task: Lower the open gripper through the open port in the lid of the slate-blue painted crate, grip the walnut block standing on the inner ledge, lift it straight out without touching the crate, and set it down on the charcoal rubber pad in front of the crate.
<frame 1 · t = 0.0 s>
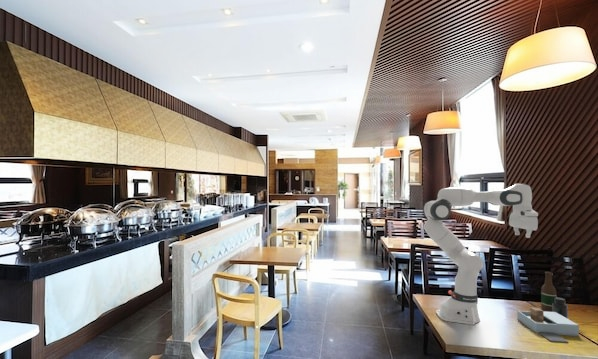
hand: (522, 236, 169), 48 cm above the table, fingers open, 8 cm apart
supplement bottle: (560, 319, 171), on the table
pad: (553, 338, 149), on the table
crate: (546, 327, 161), on the table
beer bottle: (548, 311, 183), on the table
walnut block: (536, 320, 162), point 3 cm above the table, touching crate
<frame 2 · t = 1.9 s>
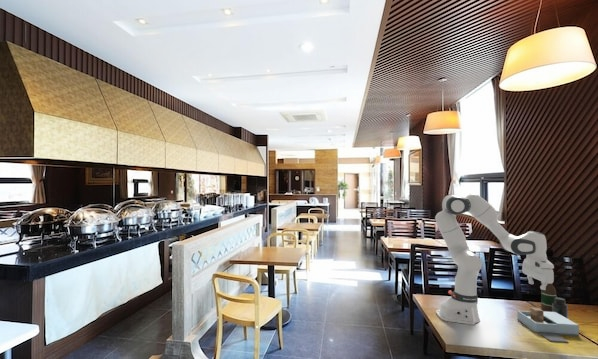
hand: (536, 286, 162), 22 cm above the table, fingers open, 8 cm apart
nothing on the table moved.
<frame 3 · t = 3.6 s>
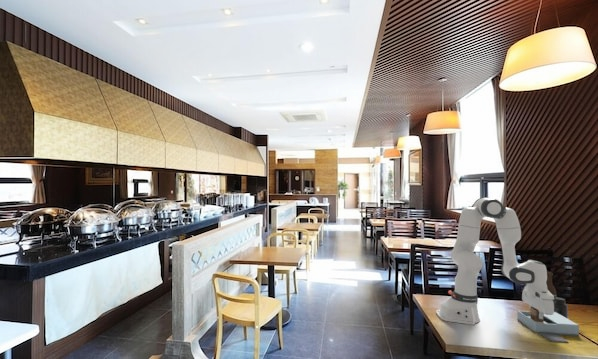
hand: (536, 316, 162), 6 cm above the table, fingers closed on walnut block, 4 cm apart
walnut block: (536, 320, 162), point 3 cm above the table, touching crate, gripper
everything else where it was.
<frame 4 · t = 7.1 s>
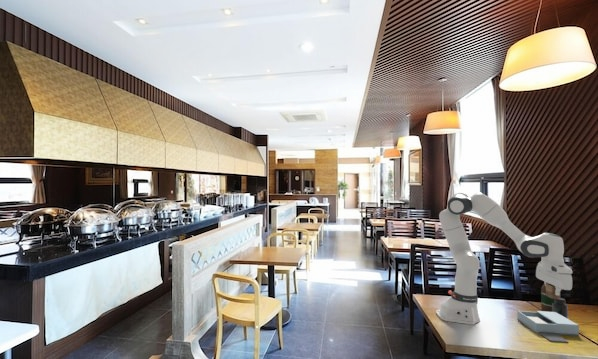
hand: (552, 293, 150), 22 cm above the table, fingers closed on walnut block, 4 cm apart
walnut block: (553, 297, 150), point 20 cm above the table, touching gripper
everything else where it was.
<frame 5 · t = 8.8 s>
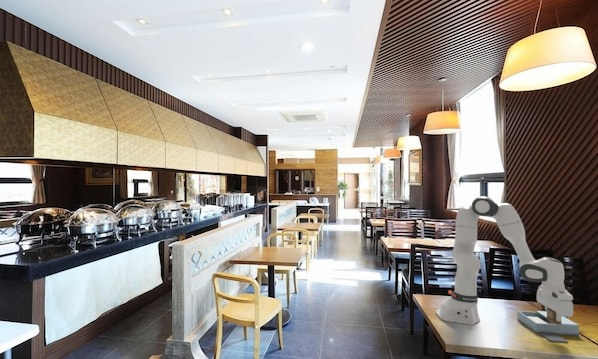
hand: (553, 318, 149), 10 cm above the table, fingers closed on walnut block, 4 cm apart
walnut block: (554, 322, 149), point 8 cm above the table, touching gripper
everything else where it was.
when the fingers open (4 cm above the table, at t = 10.1 s): walnut block drops 2 cm, resting on pad.
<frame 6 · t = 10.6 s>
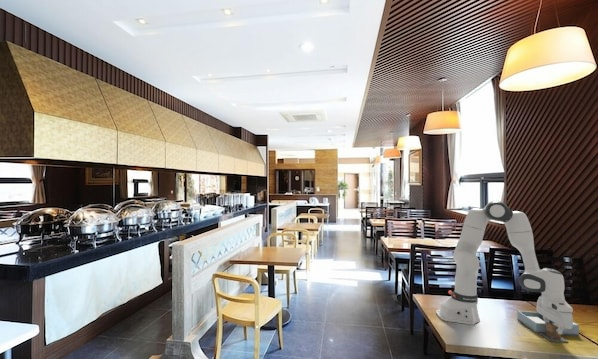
hand: (553, 329, 149), 4 cm above the table, fingers open, 7 cm apart
walnut block: (553, 336, 149), point 1 cm above the table, touching pad
everything else where it was.
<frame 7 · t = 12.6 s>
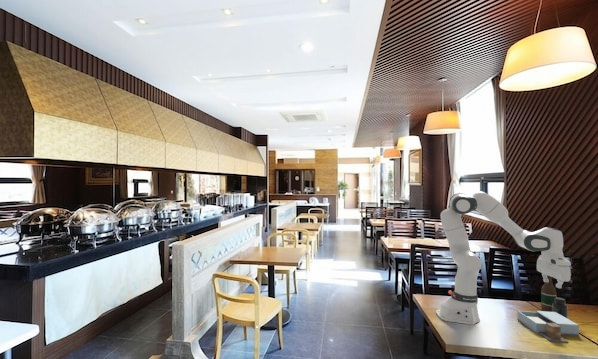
hand: (552, 284, 156), 25 cm above the table, fingers open, 8 cm apart
nothing on the table moved.
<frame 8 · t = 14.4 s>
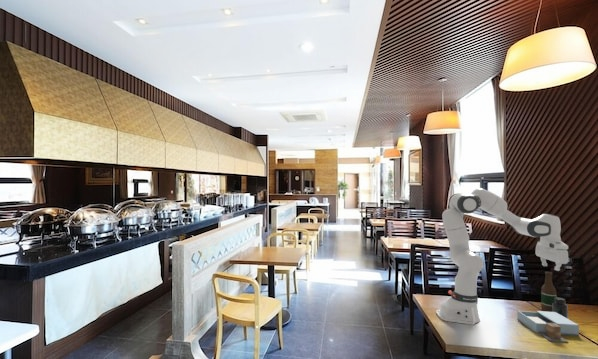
hand: (550, 268, 165), 31 cm above the table, fingers open, 8 cm apart
nothing on the table moved.
at the end: walnut block inside the target area on the pad (0.1 cm from its centre), point 0.6 cm above the pad's base; walnut block tilted 0°; walnut block touching pad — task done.
